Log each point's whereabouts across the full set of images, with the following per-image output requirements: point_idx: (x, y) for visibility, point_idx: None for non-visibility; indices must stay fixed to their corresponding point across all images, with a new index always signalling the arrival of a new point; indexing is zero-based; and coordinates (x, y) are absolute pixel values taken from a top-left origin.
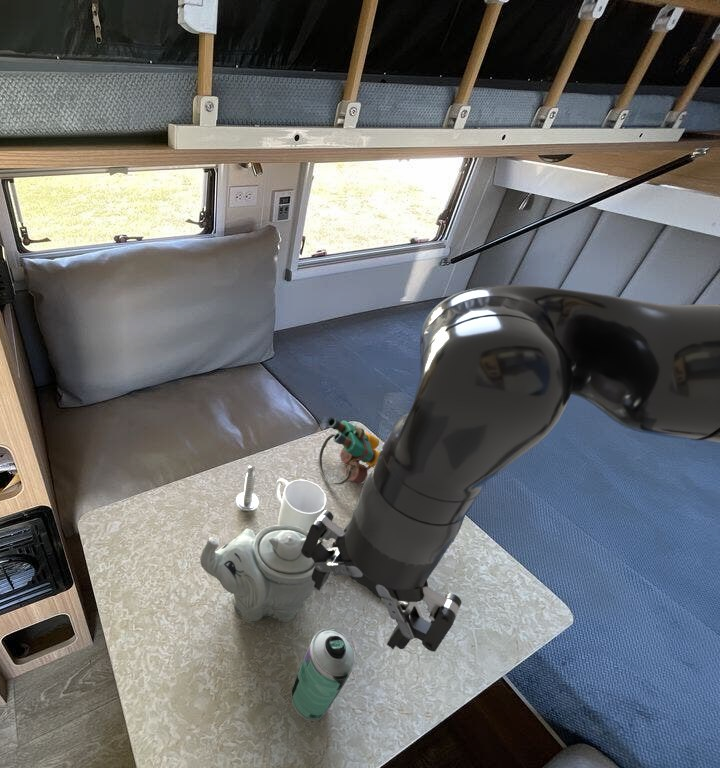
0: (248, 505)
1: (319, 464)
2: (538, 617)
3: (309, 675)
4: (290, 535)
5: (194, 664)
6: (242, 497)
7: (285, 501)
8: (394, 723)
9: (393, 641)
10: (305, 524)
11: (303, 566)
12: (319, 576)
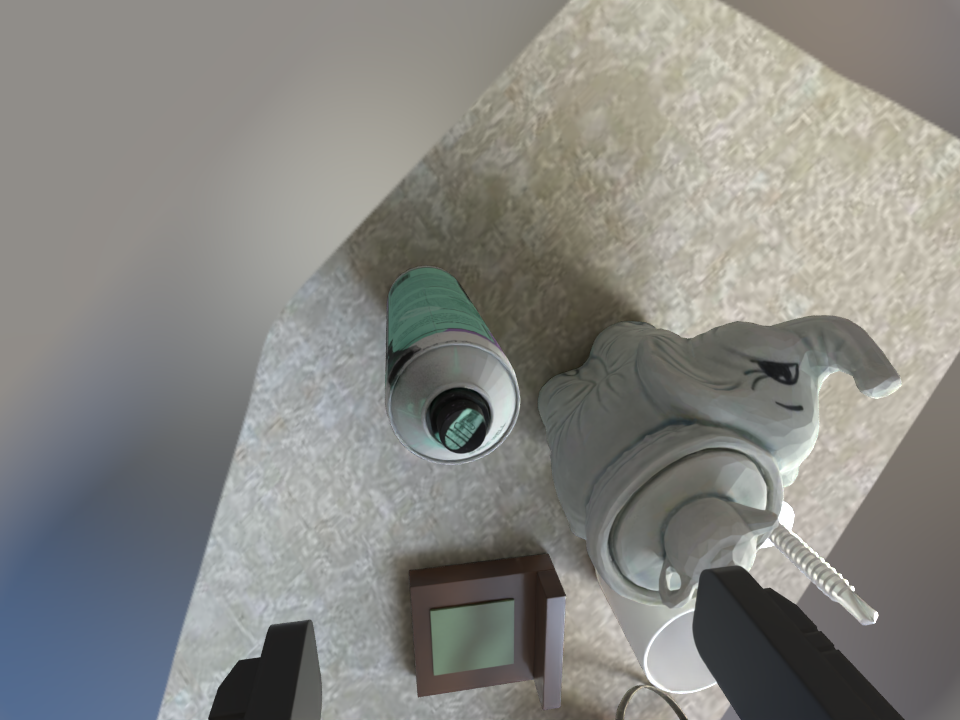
0: None
1: (674, 701)
2: None
3: (464, 313)
4: None
5: (649, 168)
6: (783, 523)
7: None
8: (279, 394)
9: (275, 689)
10: None
11: (634, 523)
12: (826, 674)
